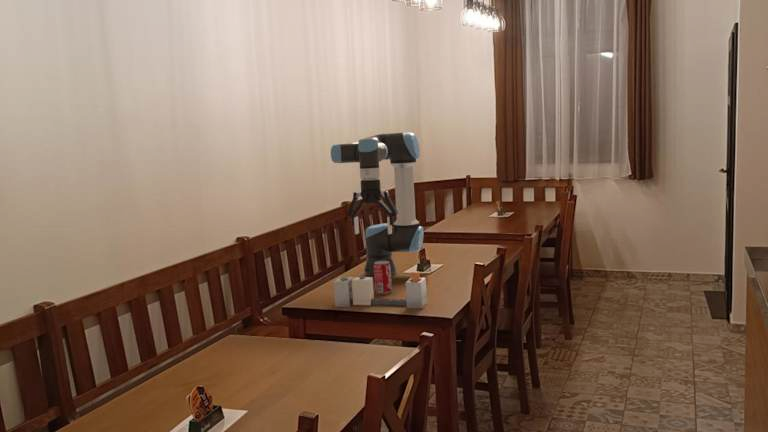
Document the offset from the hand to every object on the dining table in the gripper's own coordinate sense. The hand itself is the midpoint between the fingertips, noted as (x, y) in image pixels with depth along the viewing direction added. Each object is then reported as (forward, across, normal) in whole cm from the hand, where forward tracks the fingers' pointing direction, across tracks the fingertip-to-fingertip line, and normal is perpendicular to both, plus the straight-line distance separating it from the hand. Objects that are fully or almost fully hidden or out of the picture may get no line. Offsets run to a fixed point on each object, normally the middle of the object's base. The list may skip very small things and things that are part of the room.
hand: (373, 233), depth 270 cm
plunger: (+21, +16, -1) cm, 26 cm away
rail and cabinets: (+28, +2, -2) cm, 28 cm away
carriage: (+28, -5, -2) cm, 28 cm away
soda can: (+28, -3, +16) cm, 32 cm away
